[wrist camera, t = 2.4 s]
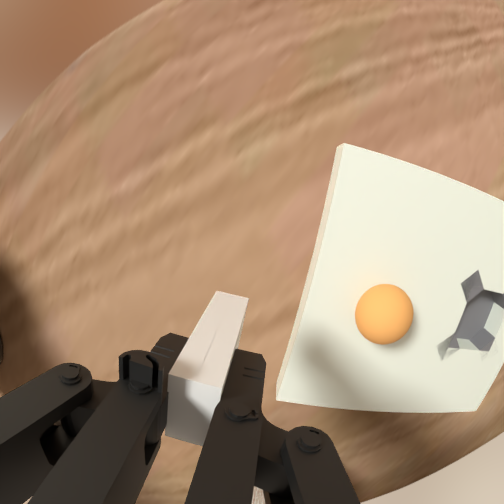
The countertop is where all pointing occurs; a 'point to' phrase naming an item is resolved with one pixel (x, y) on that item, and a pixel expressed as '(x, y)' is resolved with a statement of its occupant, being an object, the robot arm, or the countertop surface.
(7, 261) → the countertop surface
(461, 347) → the plate
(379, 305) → the ball
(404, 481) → the countertop surface
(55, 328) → the countertop surface
